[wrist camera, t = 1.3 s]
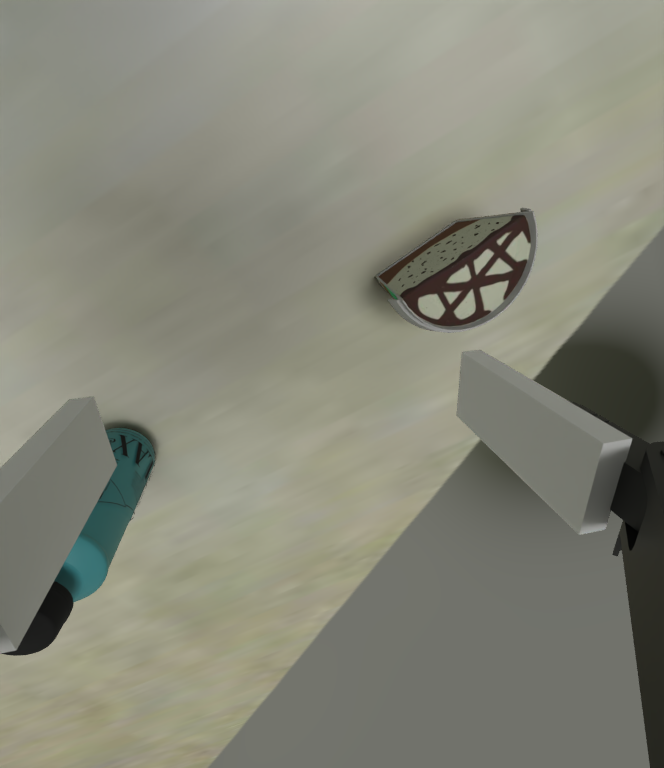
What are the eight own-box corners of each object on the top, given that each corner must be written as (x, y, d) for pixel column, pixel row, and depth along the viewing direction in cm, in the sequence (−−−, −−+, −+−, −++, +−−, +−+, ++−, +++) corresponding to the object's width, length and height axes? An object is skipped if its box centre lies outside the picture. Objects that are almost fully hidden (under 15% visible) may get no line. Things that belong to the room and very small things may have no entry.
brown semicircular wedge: (391, 335, 40) (431, 367, 31) (361, 285, 38) (396, 304, 29) (492, 266, 40) (564, 279, 30) (469, 210, 37) (540, 206, 28)
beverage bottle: (169, 465, 41) (103, 655, 23) (104, 480, 40) (-17, 689, 22) (148, 411, 38) (54, 578, 20) (78, 426, 38) (-84, 613, 20)
